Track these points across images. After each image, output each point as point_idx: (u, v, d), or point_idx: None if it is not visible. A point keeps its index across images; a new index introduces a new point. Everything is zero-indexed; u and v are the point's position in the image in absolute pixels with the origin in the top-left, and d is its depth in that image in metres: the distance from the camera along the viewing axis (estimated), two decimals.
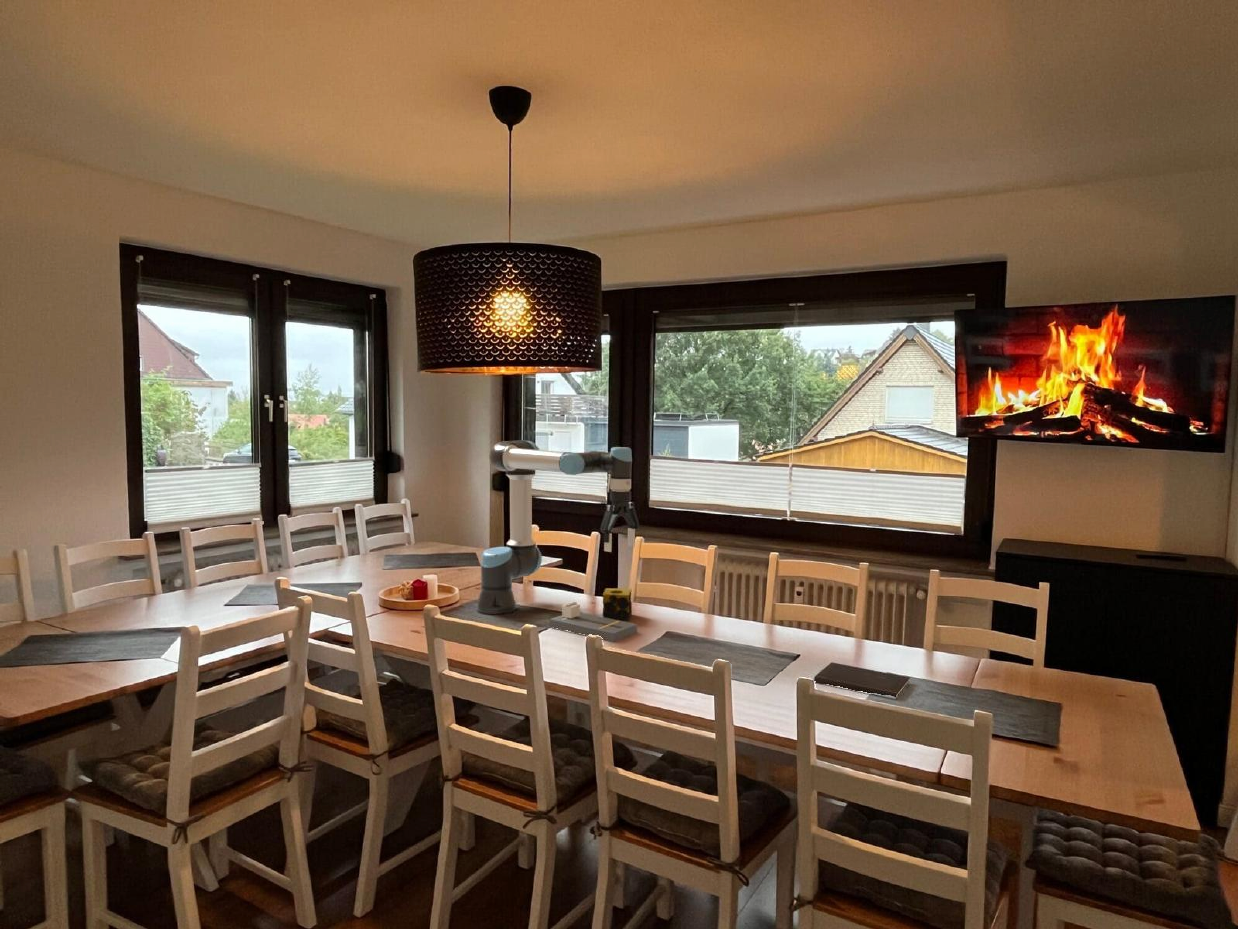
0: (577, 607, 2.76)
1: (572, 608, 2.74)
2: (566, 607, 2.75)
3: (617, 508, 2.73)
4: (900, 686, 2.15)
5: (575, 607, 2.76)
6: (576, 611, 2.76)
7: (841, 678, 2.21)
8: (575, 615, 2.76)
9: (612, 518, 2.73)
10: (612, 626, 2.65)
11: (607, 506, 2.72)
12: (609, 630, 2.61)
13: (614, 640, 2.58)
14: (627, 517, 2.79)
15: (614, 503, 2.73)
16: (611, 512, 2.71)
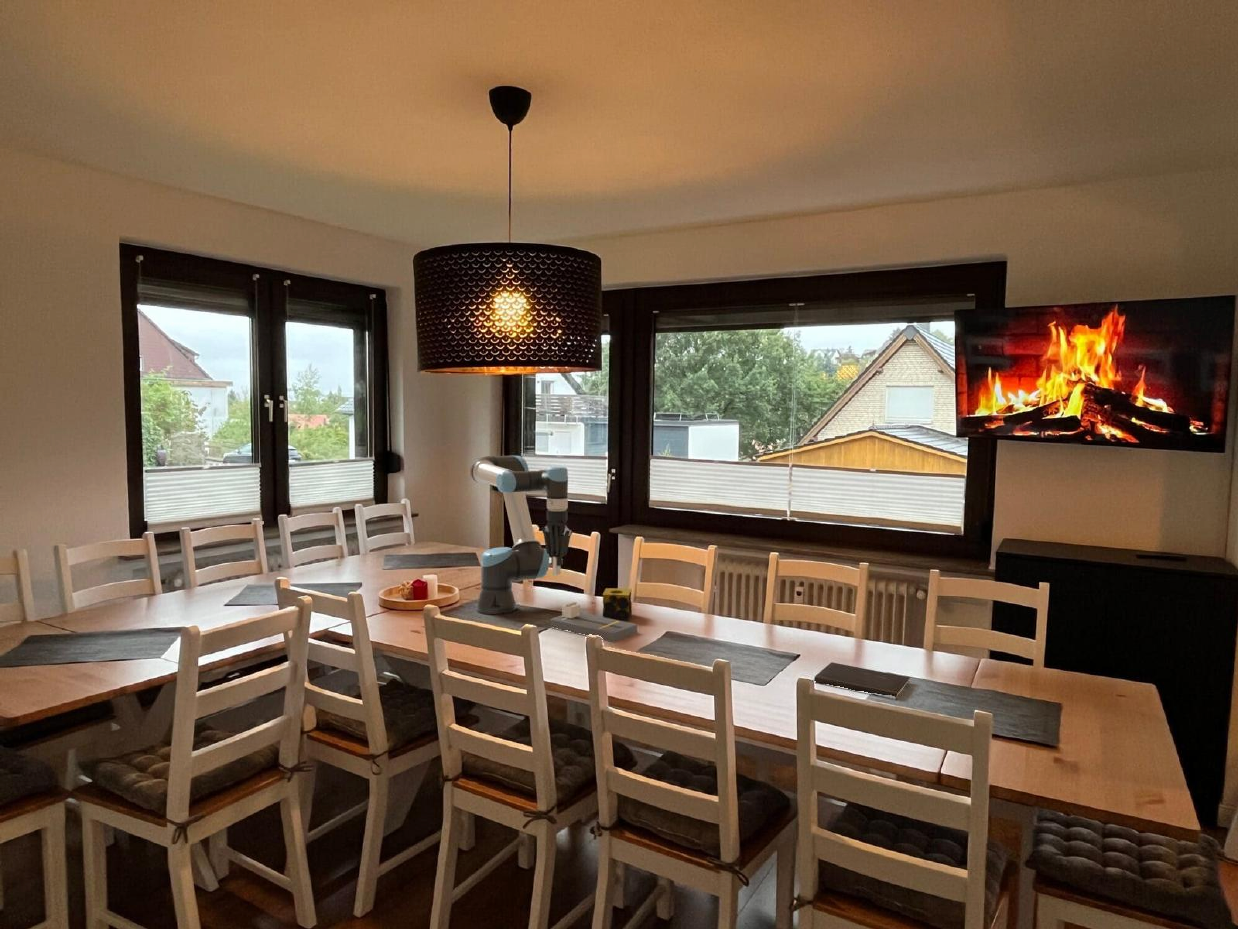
0: (577, 607, 2.76)
1: (572, 608, 2.74)
2: (566, 607, 2.75)
3: (549, 526, 2.79)
4: (900, 686, 2.16)
5: (575, 607, 2.76)
6: (576, 611, 2.76)
7: (842, 678, 2.21)
8: (575, 615, 2.76)
9: None
10: (612, 626, 2.65)
11: None
12: (609, 630, 2.61)
13: (614, 640, 2.58)
14: None
15: None
16: (544, 534, 2.81)
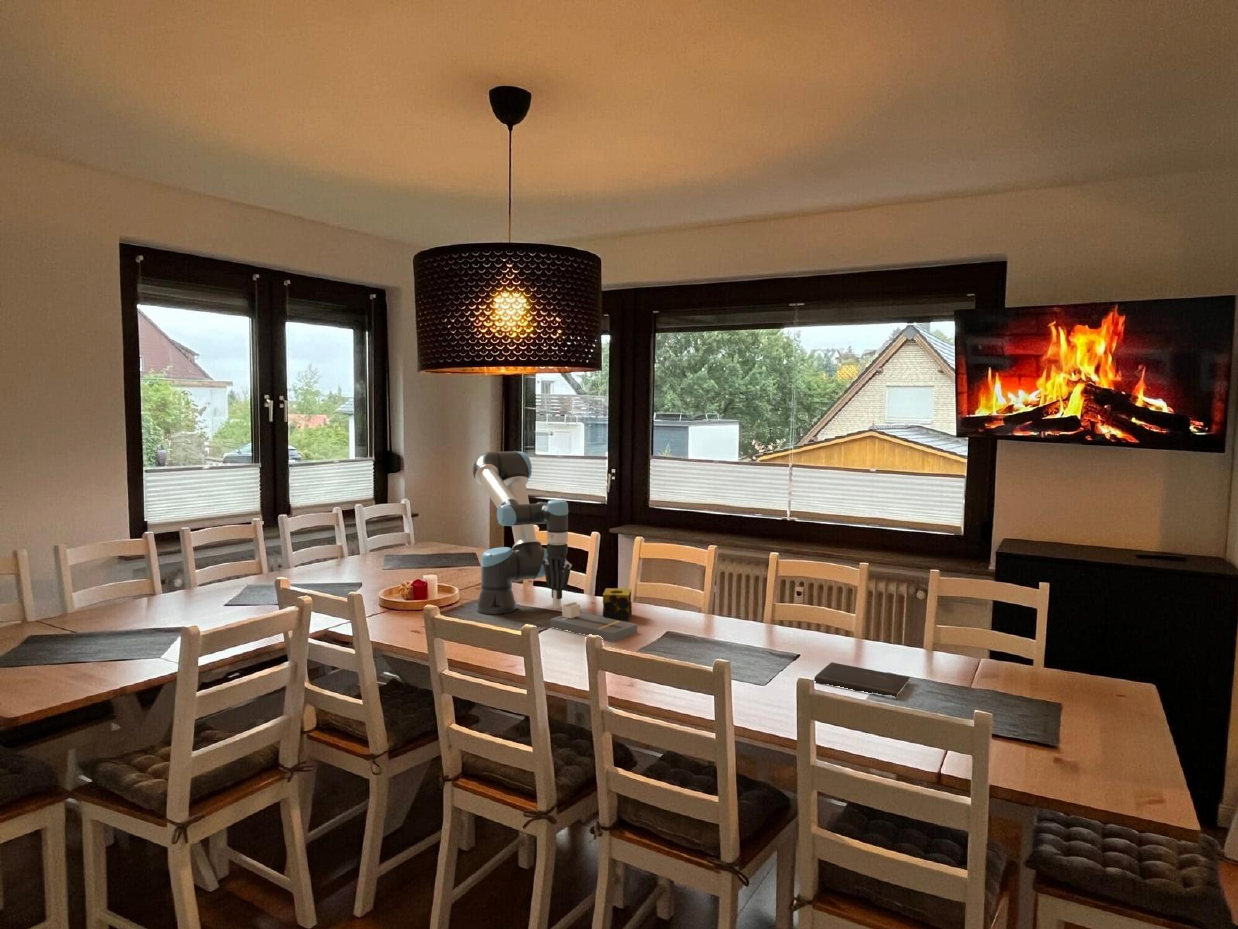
0: (577, 607, 2.76)
1: (572, 608, 2.74)
2: (566, 607, 2.75)
3: (549, 559, 2.80)
4: (900, 686, 2.16)
5: (575, 607, 2.76)
6: (576, 611, 2.76)
7: (842, 678, 2.21)
8: (575, 615, 2.76)
9: None
10: (612, 626, 2.65)
11: None
12: (609, 630, 2.61)
13: (614, 640, 2.58)
14: None
15: None
16: (544, 567, 2.81)
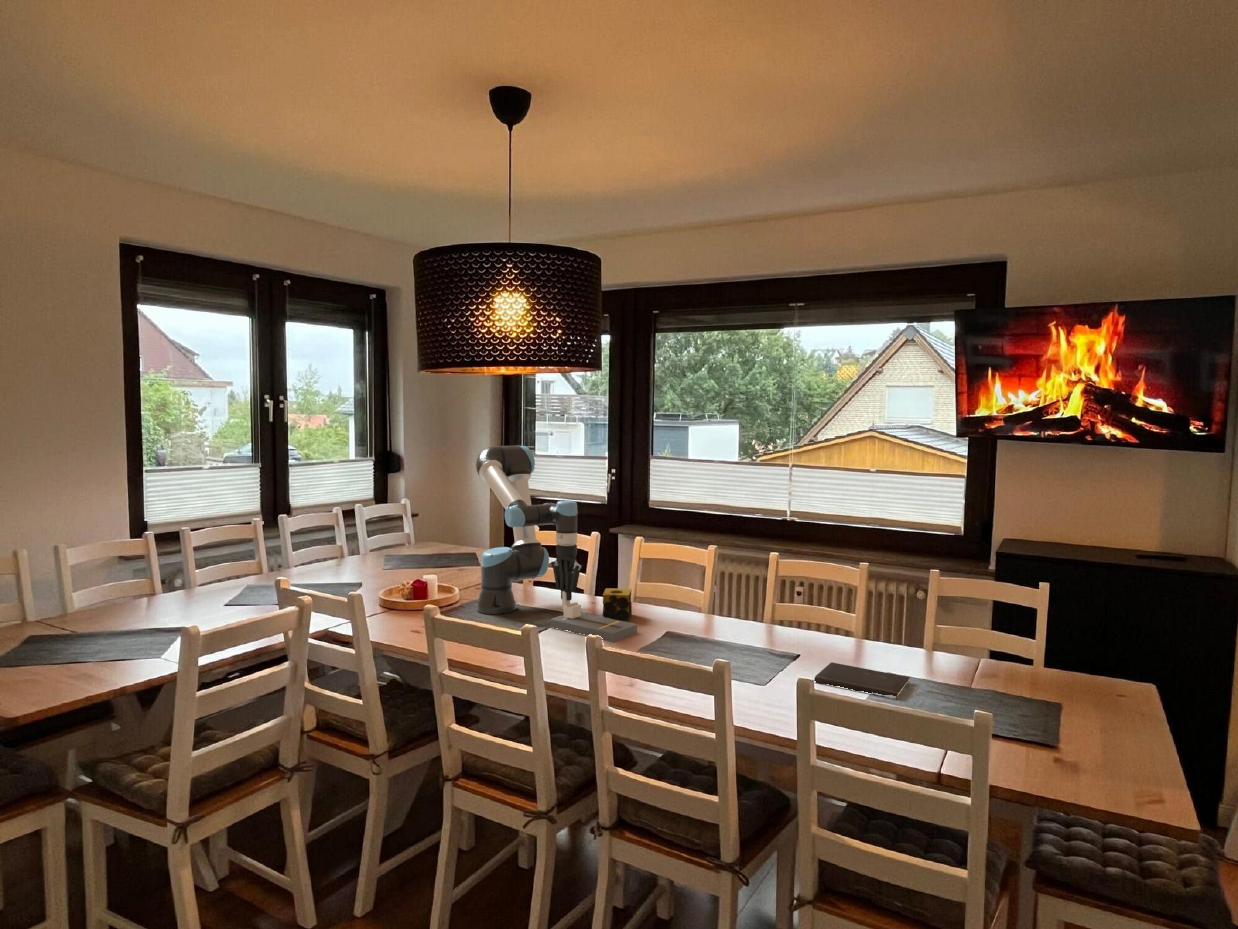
0: (578, 607, 2.76)
1: (573, 608, 2.74)
2: (567, 607, 2.74)
3: (558, 560, 2.77)
4: (900, 686, 2.16)
5: (576, 607, 2.75)
6: (577, 611, 2.76)
7: (842, 678, 2.21)
8: (576, 615, 2.75)
9: None
10: (612, 626, 2.65)
11: None
12: (609, 630, 2.61)
13: (614, 640, 2.58)
14: None
15: None
16: (554, 568, 2.79)
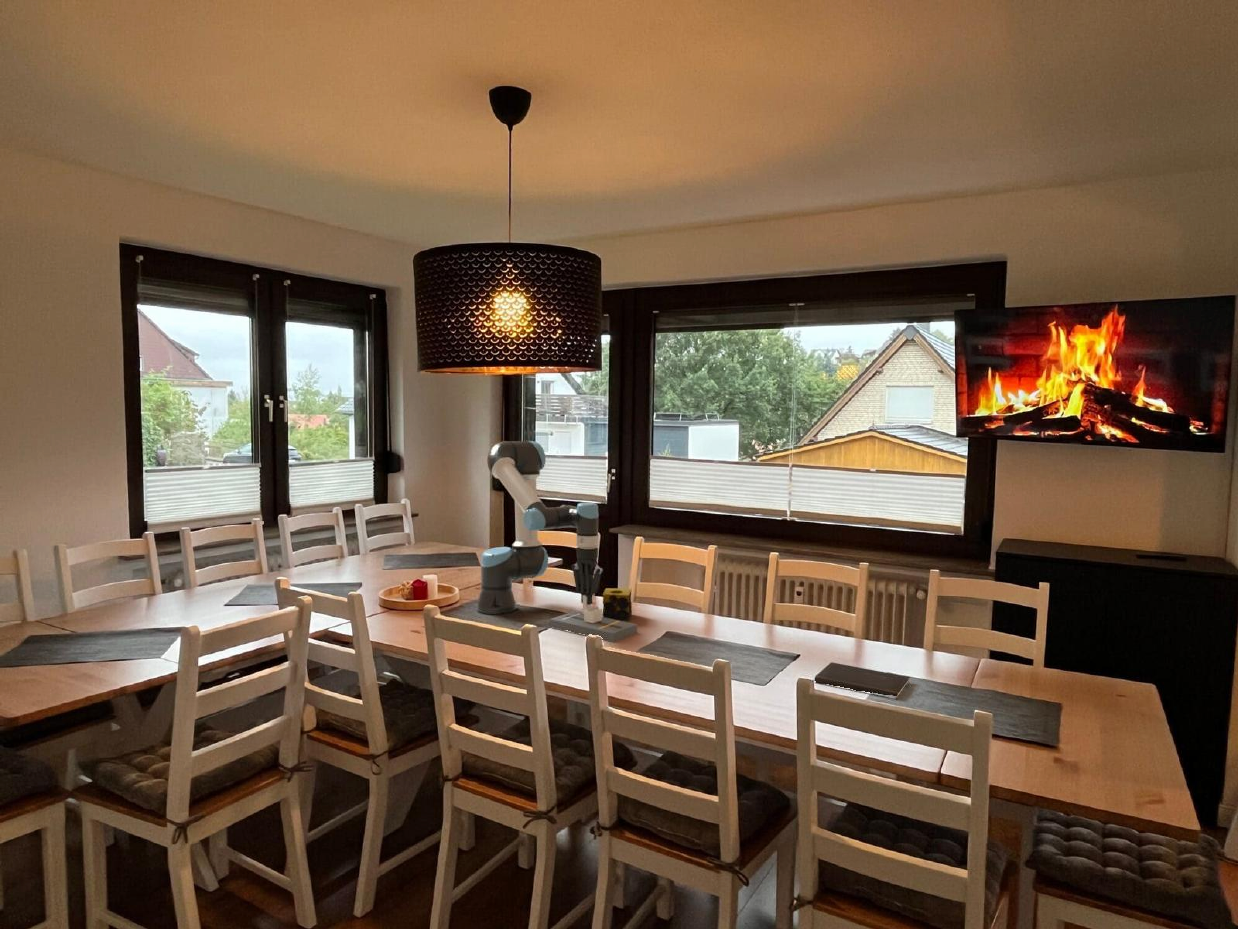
0: (599, 612, 2.71)
1: (594, 613, 2.68)
2: (588, 612, 2.69)
3: (578, 563, 2.72)
4: (900, 686, 2.16)
5: (597, 612, 2.70)
6: (598, 616, 2.70)
7: (842, 678, 2.21)
8: (597, 620, 2.70)
9: None
10: (612, 626, 2.65)
11: None
12: (609, 630, 2.61)
13: (614, 640, 2.58)
14: None
15: None
16: (574, 571, 2.73)
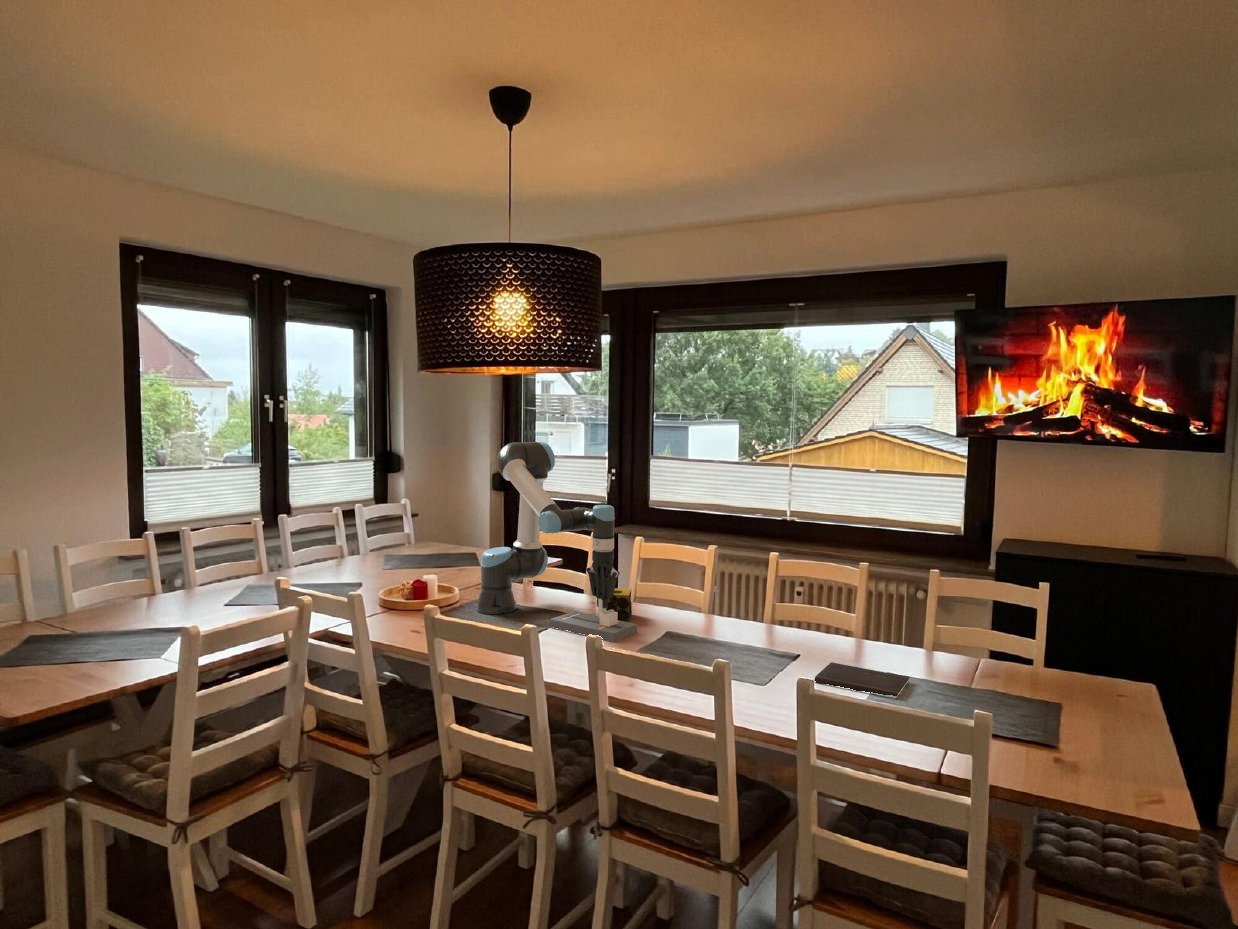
0: (615, 615, 2.67)
1: (610, 616, 2.65)
2: (604, 615, 2.65)
3: (594, 566, 2.68)
4: (901, 686, 2.16)
5: (613, 615, 2.66)
6: (614, 619, 2.67)
7: (842, 678, 2.21)
8: (613, 623, 2.66)
9: None
10: (612, 626, 2.65)
11: None
12: (609, 630, 2.61)
13: (614, 640, 2.58)
14: None
15: None
16: (589, 574, 2.69)
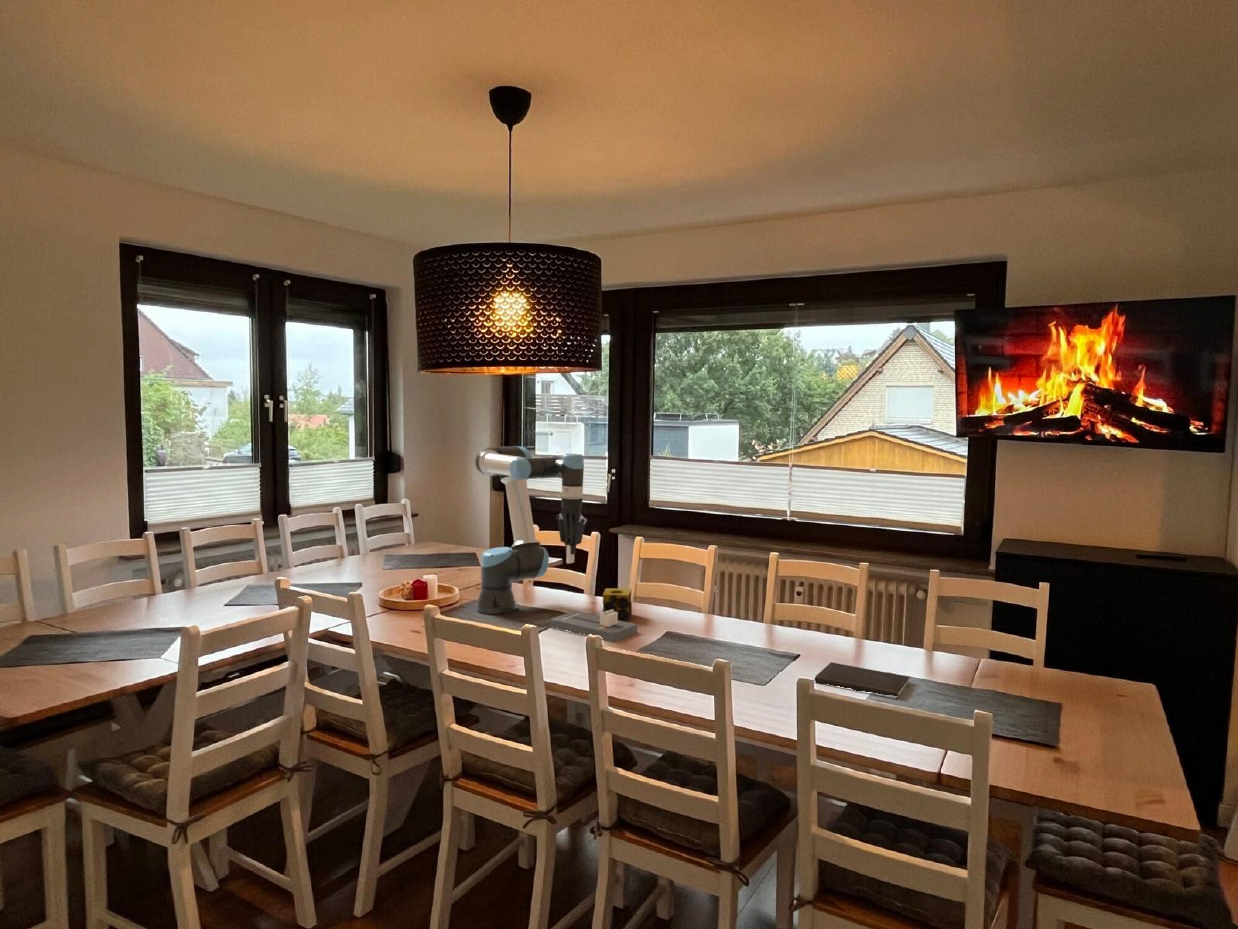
0: (615, 615, 2.67)
1: (610, 616, 2.65)
2: (604, 615, 2.65)
3: (563, 513, 2.74)
4: (901, 686, 2.16)
5: (613, 615, 2.66)
6: (614, 619, 2.67)
7: (842, 678, 2.21)
8: (613, 623, 2.66)
9: None
10: (612, 626, 2.65)
11: None
12: (609, 630, 2.61)
13: (614, 640, 2.58)
14: None
15: None
16: (558, 521, 2.76)
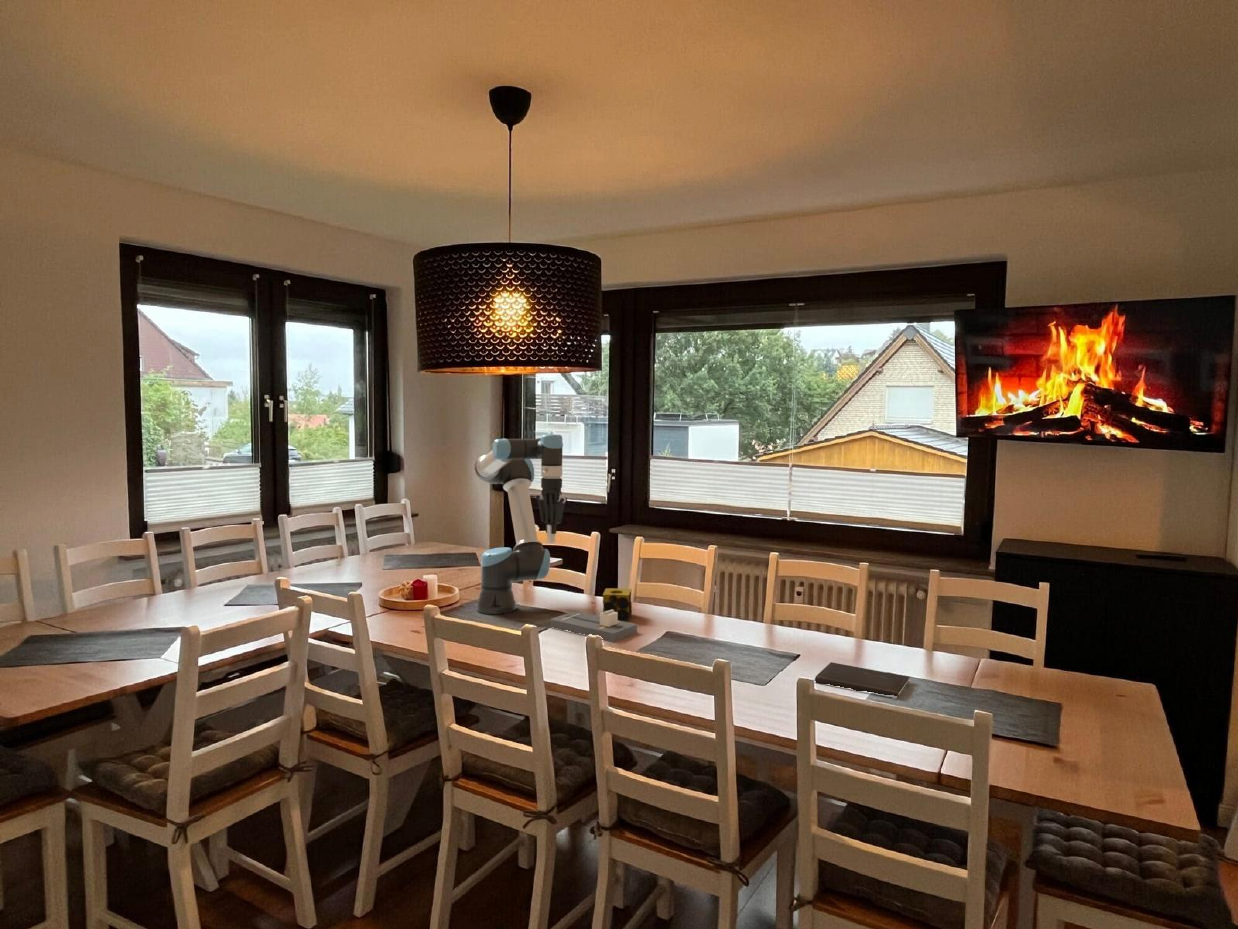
0: (615, 615, 2.67)
1: (610, 616, 2.65)
2: (604, 615, 2.65)
3: (543, 493, 2.77)
4: (901, 685, 2.16)
5: (613, 615, 2.66)
6: (614, 619, 2.67)
7: (842, 678, 2.21)
8: (613, 623, 2.66)
9: None
10: (612, 626, 2.65)
11: None
12: (609, 630, 2.61)
13: (614, 640, 2.58)
14: None
15: None
16: (539, 502, 2.79)
